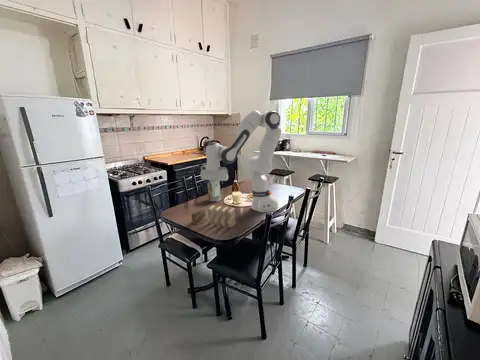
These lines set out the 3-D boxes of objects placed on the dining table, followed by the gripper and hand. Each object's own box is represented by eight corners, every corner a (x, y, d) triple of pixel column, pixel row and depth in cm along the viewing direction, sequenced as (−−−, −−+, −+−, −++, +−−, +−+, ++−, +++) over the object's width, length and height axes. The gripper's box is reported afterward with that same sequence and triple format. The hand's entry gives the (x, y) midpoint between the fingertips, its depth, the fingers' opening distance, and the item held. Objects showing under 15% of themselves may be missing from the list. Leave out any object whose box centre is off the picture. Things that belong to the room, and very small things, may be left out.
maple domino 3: (228, 222, 155) (227, 207, 152) (224, 226, 150) (223, 210, 147) (226, 222, 156) (225, 207, 153) (222, 226, 150) (221, 210, 148)
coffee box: (221, 199, 199) (220, 181, 195) (218, 202, 193) (217, 183, 189) (212, 198, 202) (210, 180, 198) (208, 201, 196) (207, 182, 192)
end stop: (205, 216, 165) (204, 207, 163) (196, 224, 155) (195, 214, 153) (201, 216, 166) (201, 207, 165) (192, 223, 156) (191, 213, 154)
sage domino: (219, 194, 167) (217, 179, 164) (215, 197, 162) (213, 182, 159) (216, 194, 168) (215, 179, 165) (212, 196, 162) (211, 181, 159)
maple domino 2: (222, 221, 157) (221, 206, 154) (218, 225, 152) (217, 209, 149) (219, 221, 158) (218, 206, 155) (215, 225, 152) (214, 209, 149)
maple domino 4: (235, 223, 153) (234, 208, 150) (231, 227, 148) (230, 211, 145) (232, 223, 154) (231, 207, 151) (228, 227, 149) (227, 211, 146)
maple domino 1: (216, 220, 159) (215, 205, 156) (211, 224, 153) (210, 209, 150) (213, 220, 159) (212, 205, 157) (209, 224, 154) (208, 208, 151)
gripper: (229, 166, 158) (230, 185, 161) (203, 165, 166) (205, 183, 169) (225, 168, 152) (226, 188, 156) (198, 167, 160) (200, 186, 164)
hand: (215, 186), depth 163 cm, fingers closed on sage domino, 2 cm apart
